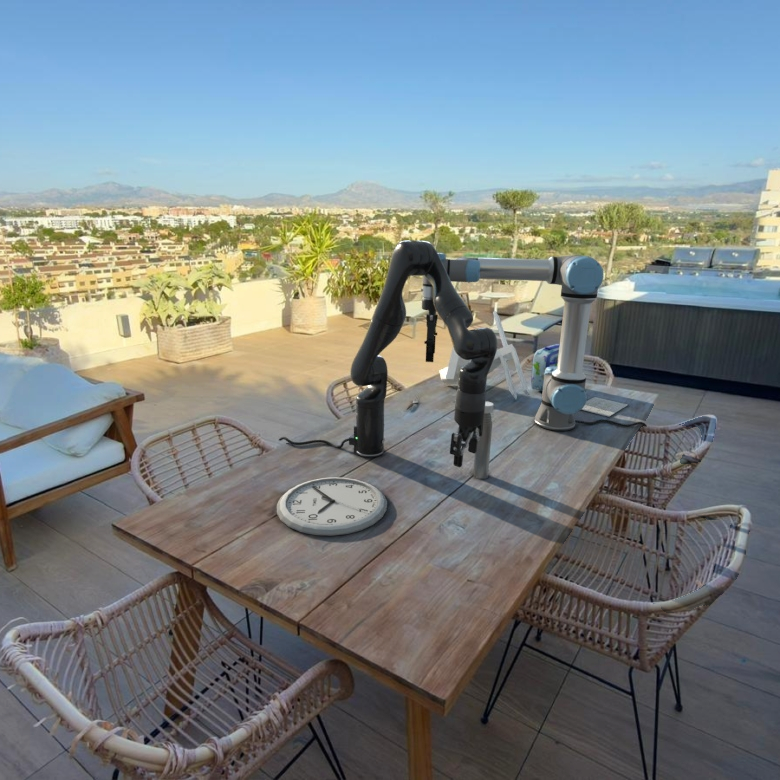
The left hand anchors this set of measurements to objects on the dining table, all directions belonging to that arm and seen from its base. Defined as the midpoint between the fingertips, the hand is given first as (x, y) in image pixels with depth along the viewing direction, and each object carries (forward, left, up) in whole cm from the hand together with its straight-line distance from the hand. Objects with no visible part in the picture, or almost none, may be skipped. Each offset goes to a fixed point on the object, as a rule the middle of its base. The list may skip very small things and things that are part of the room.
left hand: (465, 458), depth 140 cm
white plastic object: (-24, +103, -14) cm, 107 cm away
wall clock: (-32, -16, -14) cm, 38 cm away
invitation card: (+29, +108, -14) cm, 112 cm away
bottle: (0, +20, -14) cm, 24 cm away
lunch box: (+5, +125, -14) cm, 126 cm away
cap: (0, +20, +9) cm, 22 cm away
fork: (-44, +71, -14) cm, 85 cm away
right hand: (-29, +49, +14) cm, 58 cm away
